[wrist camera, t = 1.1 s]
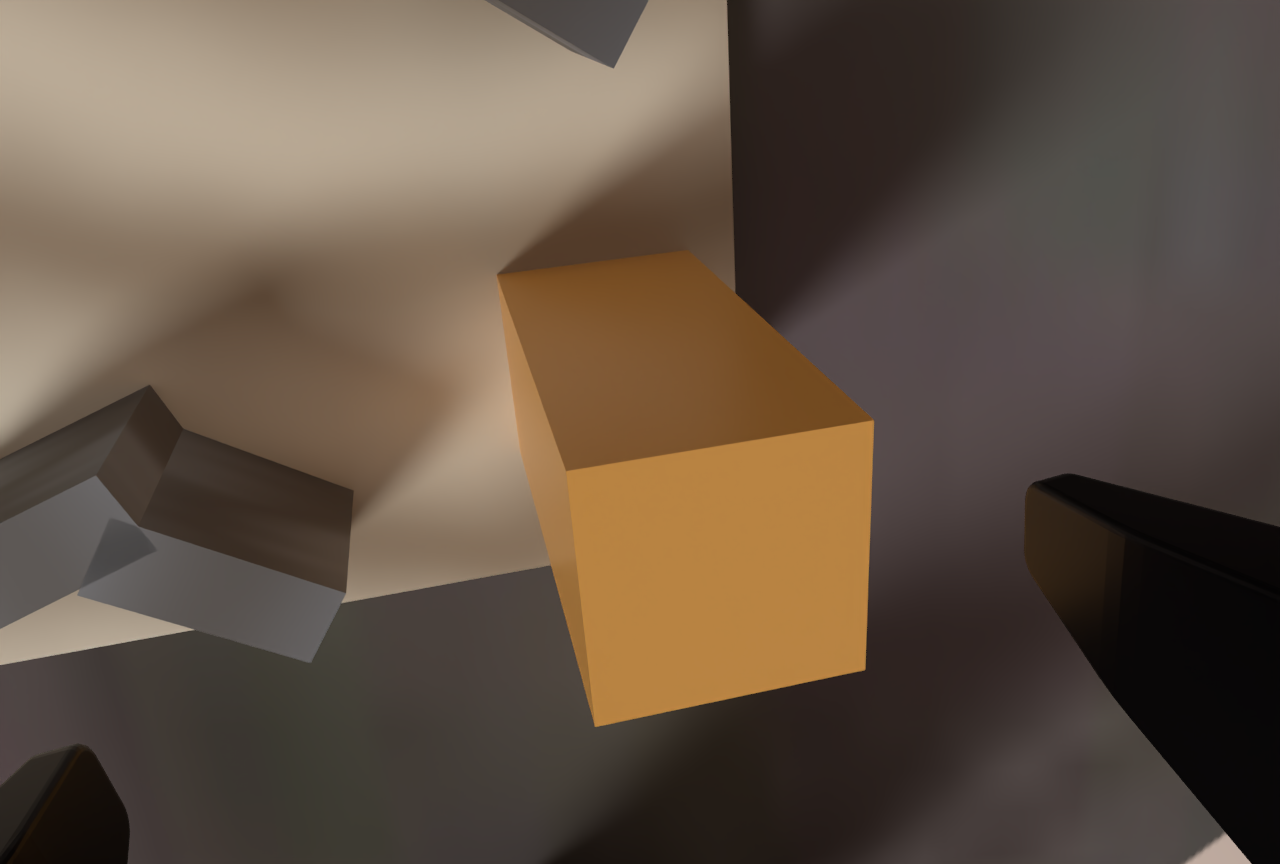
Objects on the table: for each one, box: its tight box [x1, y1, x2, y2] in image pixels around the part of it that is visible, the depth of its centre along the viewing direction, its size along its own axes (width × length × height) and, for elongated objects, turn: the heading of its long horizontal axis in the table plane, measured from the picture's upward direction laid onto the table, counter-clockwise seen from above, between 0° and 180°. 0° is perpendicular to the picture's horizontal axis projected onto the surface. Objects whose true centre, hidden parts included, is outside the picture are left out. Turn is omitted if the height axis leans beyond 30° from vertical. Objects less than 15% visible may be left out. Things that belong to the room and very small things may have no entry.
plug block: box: [496, 250, 874, 727], centre depth 17 cm, size 4×4×9 cm
